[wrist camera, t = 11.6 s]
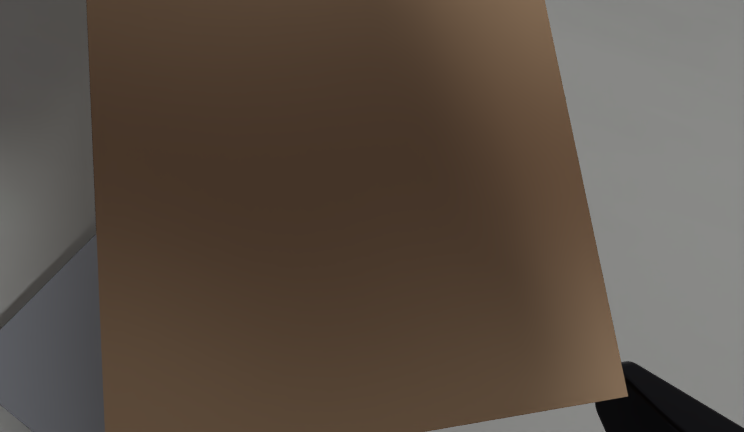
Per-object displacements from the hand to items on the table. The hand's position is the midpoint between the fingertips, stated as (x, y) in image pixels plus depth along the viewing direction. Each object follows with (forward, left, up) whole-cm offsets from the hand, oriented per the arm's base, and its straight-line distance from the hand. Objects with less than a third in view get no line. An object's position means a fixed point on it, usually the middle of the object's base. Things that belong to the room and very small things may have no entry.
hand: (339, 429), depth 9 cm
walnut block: (+2, +2, -9) cm, 10 cm away
